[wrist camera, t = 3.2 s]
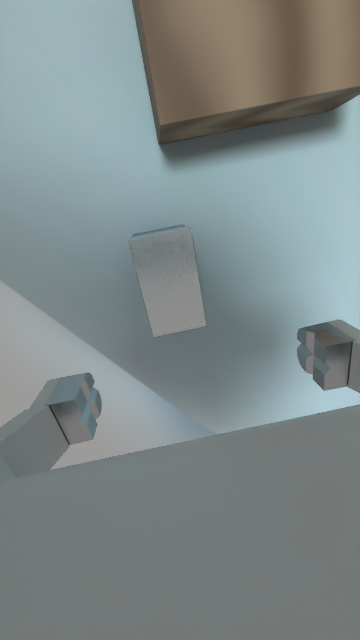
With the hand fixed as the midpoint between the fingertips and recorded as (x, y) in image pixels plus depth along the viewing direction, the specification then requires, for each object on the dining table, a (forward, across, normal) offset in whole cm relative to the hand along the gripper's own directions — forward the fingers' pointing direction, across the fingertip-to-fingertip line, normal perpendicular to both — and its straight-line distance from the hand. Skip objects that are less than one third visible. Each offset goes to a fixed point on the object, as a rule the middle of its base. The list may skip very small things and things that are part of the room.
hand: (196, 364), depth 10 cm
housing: (+17, 0, 0) cm, 17 cm away
